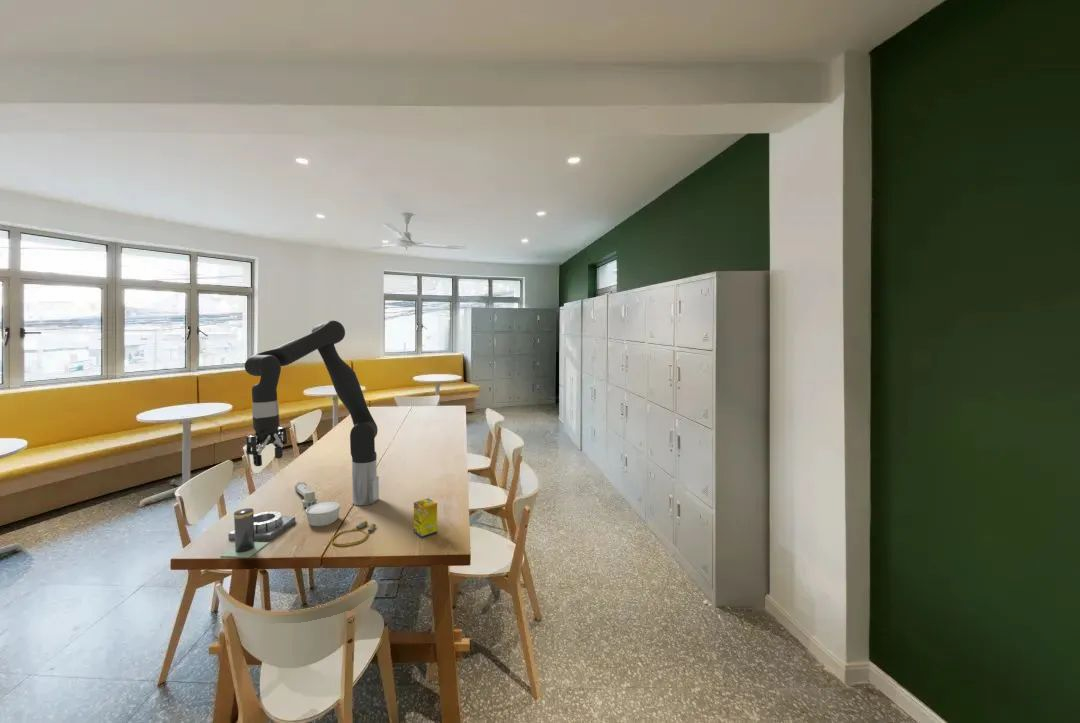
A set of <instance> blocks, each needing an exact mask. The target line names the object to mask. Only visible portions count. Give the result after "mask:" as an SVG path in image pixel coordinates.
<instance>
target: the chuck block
mask: <svg viewBox="0 0 1080 723" xmlns="http://www.w3.org/2000/svg"><path fill="white" fill-rule="evenodd" d="M295 523H296V516H284V515H283V513H281V512H279V511H275V510H273V511H272V510H271V511H264V512H263V511H262V512H258V513H255V514H254V541H271V540H272V539H274V538H276V537H277V536H278V535H280V534H281V533H282V532H284V531H286V529H288V528H289V527H291V526H292V525H293V524H295ZM227 534H228V535H227V536H228V540H235V529H233V530H231V531H230V532H228V533H227Z"/></svg>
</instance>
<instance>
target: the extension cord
mask: <svg viewBox="0 0 1080 723" xmlns="http://www.w3.org/2000/svg"><path fill="white" fill-rule="evenodd" d="M367 525H368V520H364V521H361V522H359V524H357V525H356V527H354V528H352V529H347V530H344V531H340V532H339V533H337V534H335V535H334V536H332V538H331V544H332V545H334V546H336V547H348V546H349V547H350V546H354V545H357V543H358V544H361V543H363V542H365V541H367V539H368V536H369V533H372V532H373V531H374V529H375V528H376V527H377V524H376V523H371V524H370V525H369V527H368V529H367V532H365V531H363V530H361V529H362V528H364V527H365V526H367ZM355 531H358V532H361V533H363V534H365V536H364V537H363V538H361V539H360V540H358V541H353V542H347V543H336V542H333V541H334V539H335V538H336V537H338V536H340V535H342V534H344V533H348V532H355ZM360 542H361V543H360Z"/></svg>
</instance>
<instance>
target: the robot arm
mask: <svg viewBox="0 0 1080 723" xmlns="http://www.w3.org/2000/svg"><path fill="white" fill-rule="evenodd" d="M345 336H346V330H345V327H344V325H343V324H342V322H339V321H338V320H327V321H325V322H322V323H320V324H318V325H315V326H314V327H312V330H311V332H310V333H308V334H306V335H303V336H301V337H297V338H295V339H293V340H290V341H288V342H285V343H283V344H281V345H279V346H277V347H275V348H272V349H269V350H265V351H261V352H258V353H256V354H253V355H250V357H248V358H247V359H246V361H245V362H244V369H245V371H246V373H247V374H249V376H253V377H260V379H259V383H255V384H254V385H253V386H252V387H251V399H252V406H251V407H252V408H251V414H252V415H251V416H252V430H254V431H255V432H254V433H255V434H254V435H247V436H246V454H247V455H249V456H250V455H252V458H253V465H254V466H255V467H261V466H262V465H263V458H262V451H263V450H265V448H266V447H267V446H270V444H272V445H273V446H274V458H275V459H282V458H283V447H284V445H286V444H288V440H287V439H288V438H287V437H288V436H287V429H286V427H284V426H283V427H280V408H279V403H278V393H277V392H278V390H277V388H278V384H279V381H280V380H279V379H280V377H281V376H280V375H281V371H282V370H281V369H282V367H285V366H286V367H287V366H288V365H290V364H293V363H294V362H296V361H298V360H300V359H302V358H304V357H306V356H307V355H308V354H309V355H310V354H311V353H313V352H315V351H318V353H319V355H320V356H321V359H322V361H323V362H324V365H325V368H326V370H327V372H328V375H329V377H330V380H331V383H332V386H333V388H334V391H335V393H336V395H337V397H338V398H339V400H340V401H341V403H342V404H343V405H344V407H345V408H346V409H347V411H348V412H349V414H350V417H351V421H352V423H353V427H352V428H351V430H350V435H349V444H350V456H351V458H352V459H351V465H352V467H351V468H352V469H351V470H352V474H351V475H352V476H351V477H352V478H351V480H352V483H351V484H352V504H353V505H354V506H367V505H373V504H374V503H376V502H377V501H378V500H379V499H380V498H379V497H380V496H379V494H380V486H379V485H380V480H379V476H377V475H378V473H377V467H378V466H377V452H376V448H375V445H376V444H375V443H376V442H375V439H376V437H377V435H378V425H377V424H376V421H375V419H374V418H373V416H372V414H371V412H370V410H369V408H368V405H367V403H366V399H365V396H364V393H363V391H362V388H361V385H360V382H359V381H360V380H359V379H358V377H357V374H356V372H355V371H354V369H353V368H352V367H351V366H349V364H347V363H346V362H345V361H344V359H342V358H341V356H340V355H339V353H338V350H337V349H336V346H335V344H338V343H340V342H341V341H342V340H343V339H344V338H345Z"/></svg>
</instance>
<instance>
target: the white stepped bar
mask: <svg viewBox="0 0 1080 723" xmlns="http://www.w3.org/2000/svg"><path fill="white" fill-rule="evenodd" d="M294 490H295V492H296V493H298V494H300V495H301V496H302V497H303V499H302V500H301V503H302V508H304V509H307V508H308V507H310V506H312V505H314V504H318V502H317V501H318V497H316V493H315V491H314V490H310V488H309V486H308V485H307V484H306V483H305V482H303V481H300V482H297V483H296V484H295V485H294Z"/></svg>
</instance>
